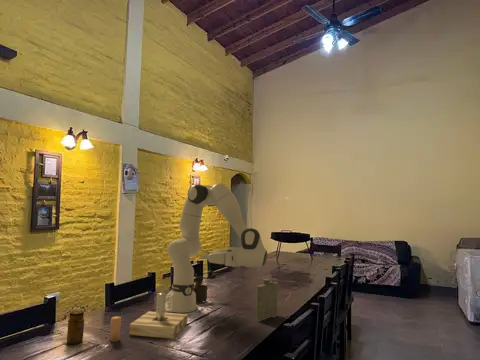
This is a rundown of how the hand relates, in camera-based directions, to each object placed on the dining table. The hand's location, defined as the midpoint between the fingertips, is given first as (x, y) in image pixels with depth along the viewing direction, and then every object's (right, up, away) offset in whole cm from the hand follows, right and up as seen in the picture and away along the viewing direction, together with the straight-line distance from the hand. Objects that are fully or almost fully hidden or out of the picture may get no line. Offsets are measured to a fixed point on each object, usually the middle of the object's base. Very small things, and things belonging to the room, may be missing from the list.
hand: (203, 255), depth 169 cm
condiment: (-50, -31, -24) cm, 64 cm away
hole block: (-20, -33, -5) cm, 39 cm away
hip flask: (+31, -37, +16) cm, 50 cm away
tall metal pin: (-20, -33, -5) cm, 39 cm away
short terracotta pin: (-35, -31, -20) cm, 51 cm away
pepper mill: (-8, -38, +47) cm, 61 cm away
